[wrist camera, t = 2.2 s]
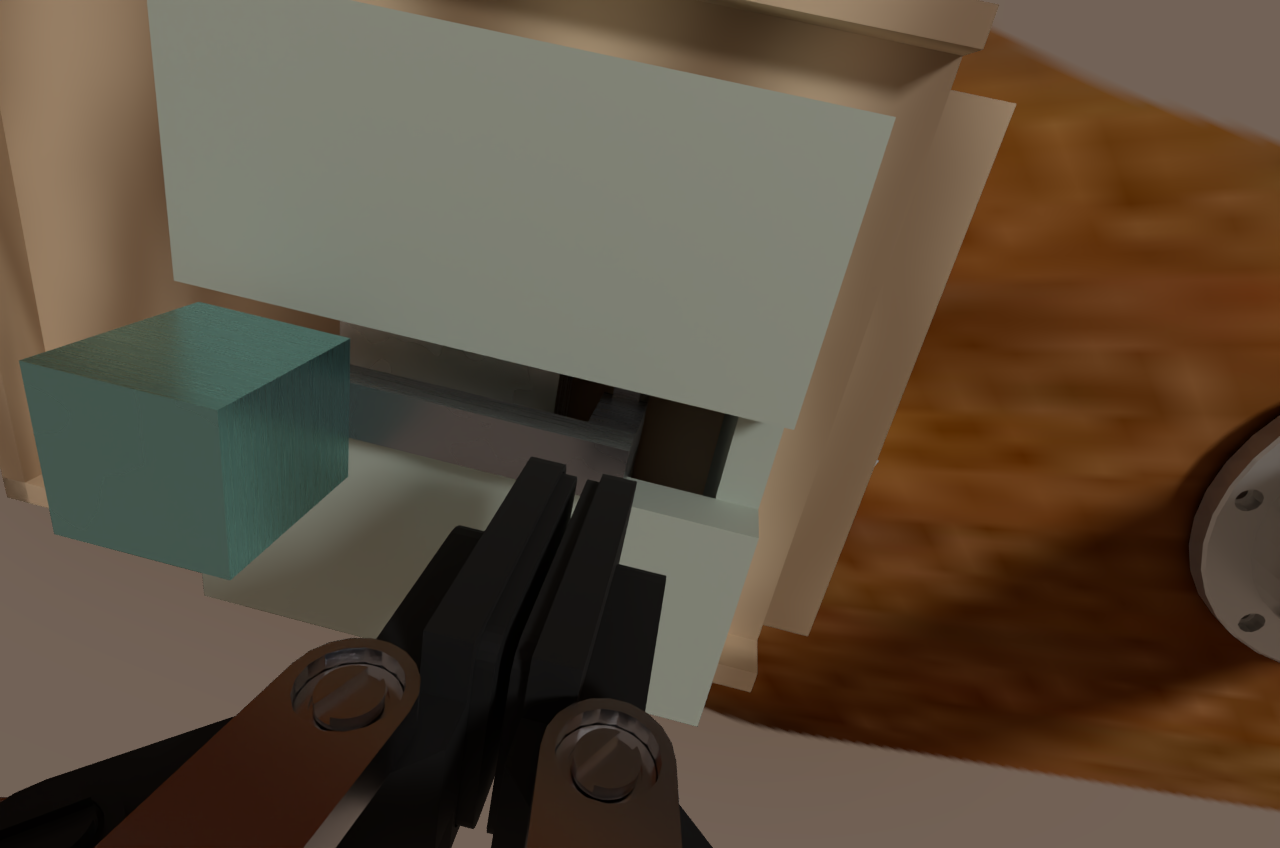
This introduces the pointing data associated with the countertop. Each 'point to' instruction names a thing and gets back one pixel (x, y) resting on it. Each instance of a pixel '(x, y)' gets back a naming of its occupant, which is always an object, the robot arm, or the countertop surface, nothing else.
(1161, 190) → the countertop surface
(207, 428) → the bar
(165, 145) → the pale green panels
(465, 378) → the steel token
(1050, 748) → the countertop surface
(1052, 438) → the countertop surface
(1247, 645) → the robot arm
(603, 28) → the shallow beige tray
